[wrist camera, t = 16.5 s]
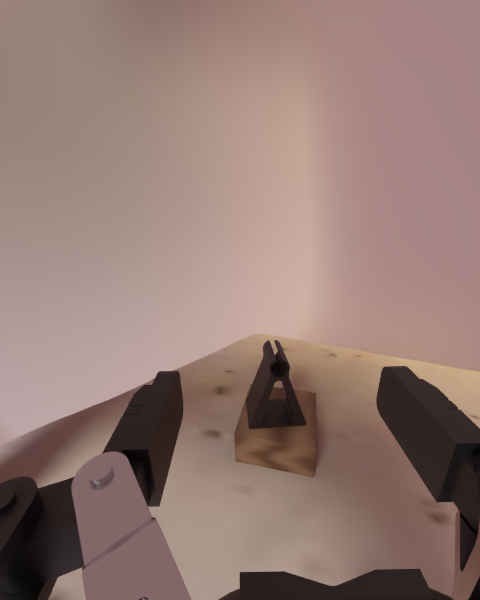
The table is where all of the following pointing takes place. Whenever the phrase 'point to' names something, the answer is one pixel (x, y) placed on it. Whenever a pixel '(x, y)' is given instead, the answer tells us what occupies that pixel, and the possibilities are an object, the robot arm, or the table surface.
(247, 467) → the table surface
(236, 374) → the table surface
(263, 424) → the phone stand
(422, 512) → the table surface
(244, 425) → the walnut block
